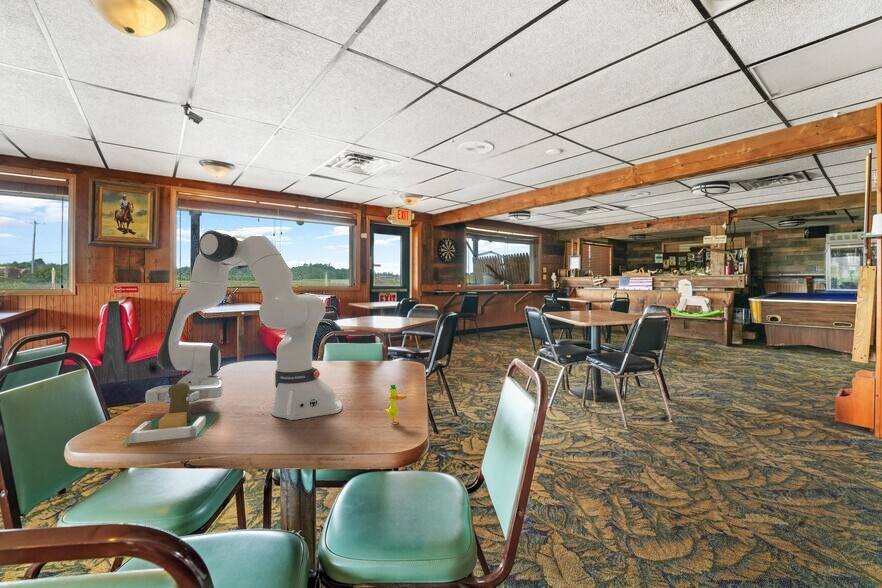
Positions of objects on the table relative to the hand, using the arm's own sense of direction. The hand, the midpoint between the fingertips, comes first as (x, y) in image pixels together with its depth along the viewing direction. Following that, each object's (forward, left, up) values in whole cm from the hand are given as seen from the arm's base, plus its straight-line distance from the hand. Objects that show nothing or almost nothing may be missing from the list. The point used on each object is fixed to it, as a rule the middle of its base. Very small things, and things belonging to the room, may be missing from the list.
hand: (178, 399), depth 110 cm
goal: (0, +6, -8) cm, 10 cm away
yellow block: (0, +4, -8) cm, 9 cm away
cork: (0, -2, -7) cm, 7 cm away
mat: (0, +2, -8) cm, 8 cm away
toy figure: (-62, +17, -8) cm, 65 cm away
